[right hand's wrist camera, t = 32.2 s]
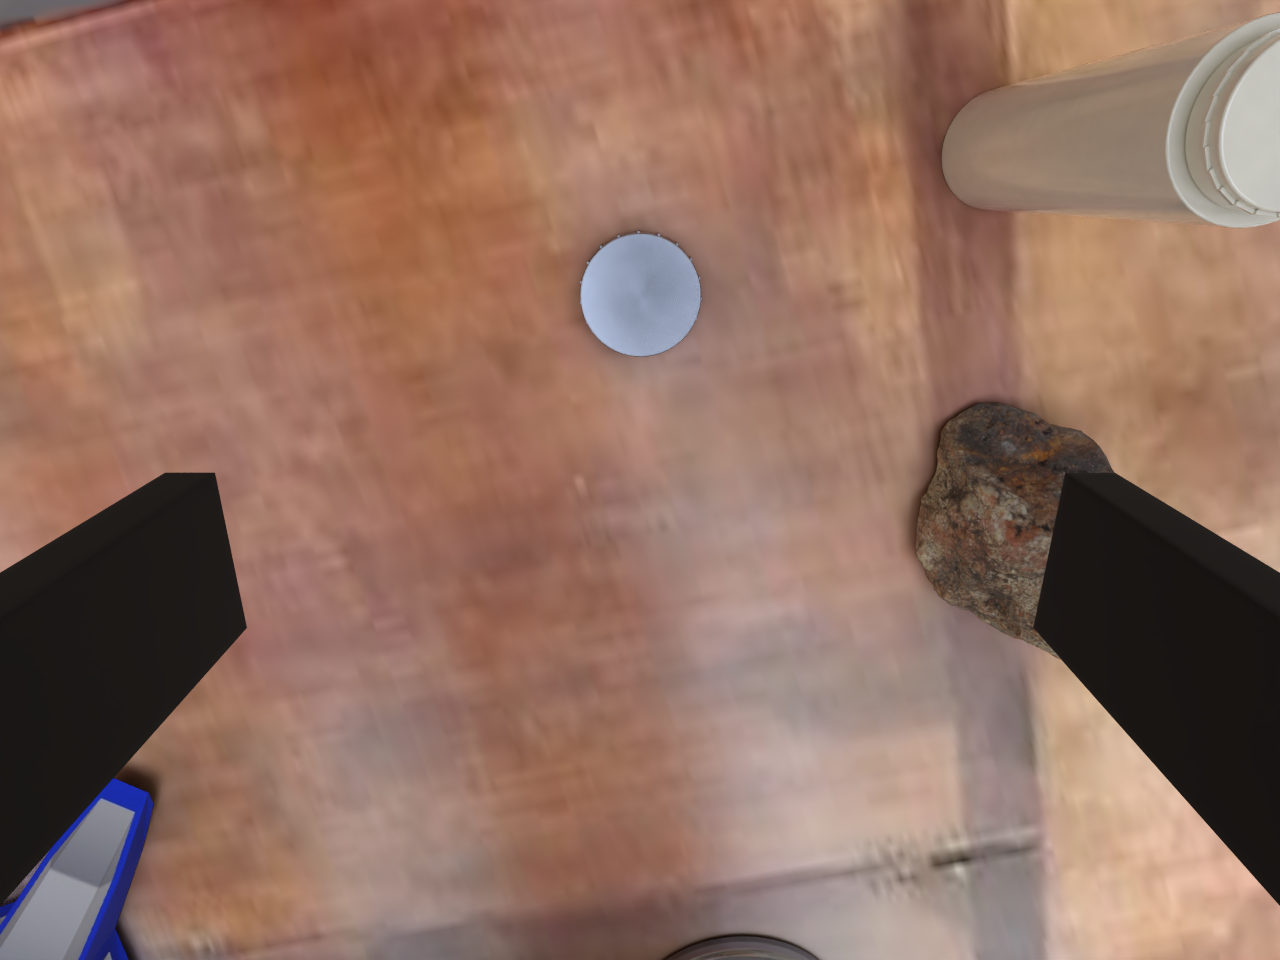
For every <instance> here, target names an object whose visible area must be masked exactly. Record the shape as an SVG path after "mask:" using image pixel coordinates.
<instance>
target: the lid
mask: <svg viewBox="0 0 1280 960" xmlns="http://www.w3.org/2000/svg"><path fill="white" fill-rule="evenodd" d="M691 261H692V259H691V257H690V256H689V257H688V256H687V255H686V253H685V252H684V251H683V250H682V249H681V248H680V247H679V246H678V243H677V242H675V243H674V242H673V241H671V240H669V239H668V238H666V237H664V236H661V235H660V233H657V234H655V233H651V232H640V230H637V232H631V233H626V234H623V235H620V234H618V235H617V237H615V238H613V239H612V240H610V241H608V242H607V243H606V244H604V245H603V244H602V245H601V246H600V249H599V250H598V251H597V252H596V253H595V255H594V256H593V258H592V259H591V260H589V261H588V262H587V264H588V266H587V268H586V270H585V272H584V275H583V278H582V279H581V281H580V283H581V289H580V304H581V308H582V312H583V315H584V318H585V320H586V321H585V322H586V323H587V325H588V326H589V328H590V329H591V331H592V332H593V334H594V335H595V336H596V337H597V339H599V340H600V341H601V342H602V343H603V344H605V345H606V346H607V347H609V348H611V349H612V350H614V351H616V352H619V353H622V354H625V355H629V356H637V357H645V356H652V355H656V354H660V353H662V352H665V351H667V350H669V349H671V348H672V347H674V346H675V345H676V344H678V343H679V342H680V341H681V340H682V339H683V338H684V337H685V336H687V334H688V332H689V331H690V330H691V328H692V326H693V325H694V323H695V321H696V320H697V316H698V312H699V309H700V303H701V300H702V297H701V287H700V281H699V279H700V277H699V275H698V274H697V272H696V269H695V267H694V265H693V264H692V262H691Z"/></svg>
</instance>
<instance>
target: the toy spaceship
mask: <svg viewBox="0 0 1280 960" xmlns="http://www.w3.org/2000/svg"><path fill="white" fill-rule="evenodd" d="M153 805H154V804H153V801H152V799H151V797H150V795H149V793H148V792H145V791H143V790H141V789H138V788H136V787H133V786H131V785H129V784H126V783H124V782H122V781H119V780H117V779H114V778H113V779H112V780H111V781H110V782H109V784H108V785H107V786H106V787H105V788H104V789H103V790H102V791H101V793H100V794H99V795H98V796H97V797H96V798H95V799H94V800H93V802H92V803H91V804H90V805H89V806H88V807H87V808H86V810H85V811H84V812H83V813H82V814H81V815H80V816H79V817H78V819H77V820H76V821H75V822H74V823H73V824H72V825H71V826H70V828H69V829H68V830H67V831H66V832H65V833H64V834H63V835H62V837H61V838H60V839H59V840H58V841H57V842H56V843H55V844H54V846H53V847H52V848H51V849H50V851H49V852H48V854H47V855H46V857H45V858H44V860H43V861H42V863H41V864H40V866H39V867H38V869H37V870H36V872H35V873H34V875H33V876H32V878H31V879H30V881H29V882H28V884H27V885H26V887H25V888H24V890H23V891H22V893H21V894H20V896H19V897H18V899H17V900H16V902H13V903H10V904H8V905H5V906H2V907H0V960H128V957H127V955H126V953H125V950H124V948H123V946H122V943H121V941H120V939H119V937H118V934H117V932H116V930H115V927H116V924H117V921H118V919H119V916H120V913H121V910H122V907H123V904H124V901H125V898H126V895H127V893H128V890H129V887H130V884H131V881H132V878H133V875H134V872H135V870H136V867H137V864H138V861H139V858H140V855H141V852H142V849H143V845H144V841H145V837H146V833H147V829H148V825H149V821H150V817H151V813H152V809H153Z"/></svg>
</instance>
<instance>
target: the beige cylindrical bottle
mask: <svg viewBox="0 0 1280 960" xmlns="http://www.w3.org/2000/svg"><path fill="white" fill-rule="evenodd" d="M942 168H943V173H944V177H945V179H946V182H947V184H948V186H949V188H950V189H951V191H952V192H953V193H954V194H955V195H956V197H957V198H958V199H960V200H961V201H962V202H964V203H965V204H967V205H969V206H971V207H974V208H977V209H982V210H994V211H1008V212H1022V213H1035V214H1049V215H1063V216H1077V217H1091V218H1105V219H1118V220H1132V221H1146V222H1160V223H1174V224H1187V225H1201V226H1215V227H1229V228H1249V227H1256V226H1261V225H1266V224H1269V223H1272V222H1275V221H1278V220H1280V12H1278V13H1273V14H1269V15H1265V16H1261V17H1258V18H1254V19H1250V20H1246V21H1243V22H1239V23H1235V24H1232V25H1228V26H1224V27H1221V28H1217V29H1213V30H1210V31H1206V32H1202V33H1199V34H1195V35H1191V36H1187V37H1184V38H1180V39H1176V40H1173V41H1169V42H1165V43H1162V44H1158V45H1154V46H1151V47H1147V48H1143V49H1139V50H1136V51H1132V52H1128V53H1125V54H1121V55H1117V56H1114V57H1110V58H1106V59H1103V60H1099V61H1095V62H1092V63H1088V64H1084V65H1080V66H1077V67H1073V68H1069V69H1066V70H1062V71H1058V72H1055V73H1051V74H1047V75H1044V76H1040V77H1036V78H1032V79H1029V80H1025V81H1021V82H1018V83H1014V84H1010V85H1007V86H1003V87H999V88H996V89H992V90H989V91H987V92H984V93H982V94H980V95H978V96H977V97H975V98H974V99H972V100H971V101H970V102H969V103H967V104H966V105H965V106H964V107H963V108H962V109H961V110H960V111H959V113H958V114H957V115H956V117H955V118H954V119H953V121H952V123H951V125H950V127H949V129H948V131H947V133H946V136H945V139H944V143H943V149H942Z"/></svg>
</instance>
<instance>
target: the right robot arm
mask: <svg viewBox="0 0 1280 960" xmlns="http://www.w3.org/2000/svg"><path fill="white" fill-rule="evenodd" d="M246 628H247V626H246V621H245V617H244V612H243V607H242V602H241V597H240V592H239V587H238V583H237V578H236V573H235V568H234V563H233V558H232V554H231V549H230V544H229V539H228V534H227V529H226V524H225V520H224V515H223V510H222V505H221V500H220V495H219V490H218V486H217V481H216V476H215V473H164V474H162V475H161V476H159V477H157V478H156V479H154V480H153V481H151V482H149V483H148V484H146V485H144V486H143V487H141V488H139V489H138V490H136V491H134V492H133V493H131V494H129V495H128V496H126V497H124V498H123V499H121V500H120V501H118V502H116V503H115V504H113V505H111V506H110V507H108V508H106V509H105V510H103V511H101V512H100V513H98V514H96V515H95V516H93V517H91V518H90V519H88V520H87V521H85V522H83V523H82V524H80V525H78V526H77V527H75V528H73V529H72V530H70V531H68V532H67V533H65V534H63V535H62V536H60V537H59V538H57V539H55V540H54V541H52V542H50V543H49V544H47V545H45V546H44V547H42V548H40V549H39V550H37V551H35V552H34V553H32V554H30V555H29V556H27V557H26V558H24V559H22V560H21V561H19V562H17V563H16V564H14V565H12V566H11V567H9V568H7V569H6V570H4V571H2V572H1V573H0V905H1V904H2V903H3V902H4V901H5V900H6V899H7V897H8V896H9V895H10V894H11V893H12V892H13V891H14V889H15V888H16V887H17V886H18V885H19V884H20V883H21V882H22V880H23V879H24V878H25V877H26V876H27V875H28V874H29V873H30V871H31V870H32V869H33V868H34V867H35V866H36V865H37V864H38V862H39V861H40V860H41V859H42V858H43V857H44V856H45V855H46V853H47V852H48V851H49V850H50V849H51V848H52V847H53V846H54V844H55V843H56V842H57V841H58V840H59V839H60V838H61V837H62V835H63V834H64V833H65V832H66V831H67V830H68V829H69V828H70V826H71V825H72V824H73V823H74V822H75V821H76V820H77V819H78V817H79V816H80V815H81V814H82V813H83V812H84V811H85V810H86V808H87V807H88V806H89V805H90V804H91V803H92V802H93V800H94V799H95V798H96V797H97V796H98V795H99V794H100V793H101V791H102V790H103V789H104V788H105V787H106V786H107V785H108V784H109V782H110V781H111V780H112V779H113V778H114V777H115V776H116V775H117V773H118V772H119V771H120V770H121V769H122V768H123V767H124V766H125V764H126V763H127V762H128V761H129V760H130V759H131V758H132V757H133V755H134V754H135V753H136V752H137V751H138V750H139V749H140V748H141V746H142V745H143V744H144V743H145V742H146V741H147V740H148V739H149V737H150V736H151V735H152V734H153V733H154V732H155V731H156V730H157V728H158V727H159V726H160V725H161V724H162V723H163V722H164V721H165V719H166V718H167V717H168V716H169V715H170V714H171V713H172V712H173V710H174V709H175V708H176V707H177V706H178V705H179V704H180V702H181V701H182V700H183V699H184V698H185V697H186V696H187V695H188V693H189V692H190V691H191V690H192V689H193V688H194V687H195V686H196V684H197V683H198V682H199V681H200V680H201V679H202V678H203V677H204V675H205V674H206V673H207V672H208V671H209V670H210V669H211V668H212V666H213V665H214V664H215V663H216V662H217V661H218V660H219V659H220V657H221V656H222V655H223V654H224V653H225V652H226V651H227V650H228V648H229V647H230V646H231V645H232V644H233V643H234V642H235V641H236V639H237V638H238V637H239V636H240V635H241V634H242V633H243V632H244V630H245V629H246ZM1033 628H1034V629H1035V630H1036V632H1037V633H1038V634H1039V635H1040V636H1041V637H1042V638H1043V639H1044V641H1045V642H1046V643H1047V644H1048V645H1049V646H1050V647H1051V648H1052V650H1053V651H1054V652H1055V653H1056V654H1057V655H1058V656H1059V657H1060V659H1061V660H1062V661H1063V662H1064V663H1065V664H1066V665H1067V666H1068V668H1069V669H1070V670H1071V671H1072V672H1073V673H1074V674H1075V675H1076V677H1077V678H1078V679H1079V680H1080V681H1081V682H1082V683H1083V684H1084V686H1085V687H1086V688H1087V689H1088V690H1089V691H1090V692H1091V693H1092V695H1093V696H1094V697H1095V698H1096V699H1097V700H1098V701H1099V702H1100V704H1101V705H1102V706H1103V707H1104V708H1105V709H1106V710H1107V712H1108V713H1109V714H1110V715H1111V716H1112V717H1113V718H1114V719H1115V721H1116V722H1117V723H1118V724H1119V725H1120V726H1121V727H1122V728H1123V730H1124V731H1125V732H1126V733H1127V734H1128V735H1129V736H1130V737H1131V739H1132V740H1133V741H1134V742H1135V743H1136V744H1137V745H1138V746H1139V748H1140V749H1141V750H1142V751H1143V752H1144V753H1145V754H1146V755H1147V757H1148V758H1149V759H1150V760H1151V761H1152V762H1153V763H1154V764H1155V766H1156V767H1157V768H1158V769H1159V770H1160V771H1161V772H1162V773H1163V775H1164V776H1165V777H1166V778H1167V779H1168V780H1169V781H1170V782H1171V784H1172V785H1173V786H1174V787H1175V788H1176V789H1177V790H1178V791H1179V793H1180V794H1181V795H1182V796H1183V797H1184V798H1185V799H1186V800H1187V802H1188V803H1189V804H1190V805H1191V806H1192V807H1193V808H1194V810H1195V811H1196V812H1197V813H1198V814H1199V815H1200V816H1201V817H1202V819H1203V820H1204V821H1205V822H1206V823H1207V824H1208V825H1209V826H1210V828H1211V829H1212V830H1213V831H1214V832H1215V833H1216V834H1217V835H1218V837H1219V838H1220V839H1221V840H1222V841H1223V842H1224V843H1225V844H1226V846H1227V847H1228V848H1229V849H1230V850H1231V851H1232V852H1233V853H1234V855H1235V856H1236V857H1237V858H1238V859H1239V860H1240V861H1241V862H1242V864H1243V865H1244V866H1245V867H1246V868H1247V869H1248V870H1249V871H1250V873H1251V874H1252V875H1253V876H1254V877H1255V878H1256V879H1257V880H1258V882H1259V883H1260V884H1261V885H1262V886H1263V887H1264V888H1265V889H1266V891H1267V892H1268V893H1269V894H1270V895H1271V896H1272V897H1273V899H1274V900H1275V901H1276V902H1277V903H1278V904H1279V905H1280V573H1279V572H1278V571H1276V570H1274V569H1273V568H1271V567H1269V566H1268V565H1266V564H1264V563H1263V562H1261V561H1259V560H1258V559H1256V558H1254V557H1253V556H1251V555H1250V554H1248V553H1246V552H1245V551H1243V550H1241V549H1240V548H1238V547H1236V546H1235V545H1233V544H1231V543H1230V542H1228V541H1226V540H1225V539H1223V538H1221V537H1220V536H1218V535H1217V534H1215V533H1213V532H1212V531H1210V530H1208V529H1207V528H1205V527H1203V526H1202V525H1200V524H1198V523H1197V522H1195V521H1193V520H1192V519H1190V518H1189V517H1187V516H1185V515H1184V514H1182V513H1180V512H1179V511H1177V510H1175V509H1174V508H1172V507H1170V506H1169V505H1167V504H1165V503H1164V502H1162V501H1160V500H1159V499H1157V498H1156V497H1154V496H1152V495H1151V494H1149V493H1147V492H1146V491H1144V490H1142V489H1141V488H1139V487H1137V486H1136V485H1134V484H1132V483H1131V482H1129V481H1127V480H1126V479H1124V478H1123V477H1121V476H1119V475H1118V474H1116V473H1065V476H1064V481H1063V486H1062V490H1061V495H1060V500H1059V505H1058V510H1057V515H1056V520H1055V524H1054V529H1053V534H1052V539H1051V544H1050V549H1049V554H1048V558H1047V563H1046V568H1045V573H1044V578H1043V583H1042V587H1041V592H1040V597H1039V602H1038V607H1037V612H1036V617H1035V621H1034V626H1033ZM667 960H817V959H816V958H815V957H813V956H812V955H810V954H809V953H807V952H805V951H804V950H802V949H800V948H797V947H795V946H793V945H790V944H787V943H785V942H781V941H777V940H773V939H768V938H761V937H747V936H740V937H726V938H719V939H713V940H709V941H705V942H702V943H699V944H696V945H693V946H690V947H688V948H686V949H683V950H681V951H680V952H678V953H676V954H674V955H673V956H671V957H669V958H668V959H667Z"/></svg>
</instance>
